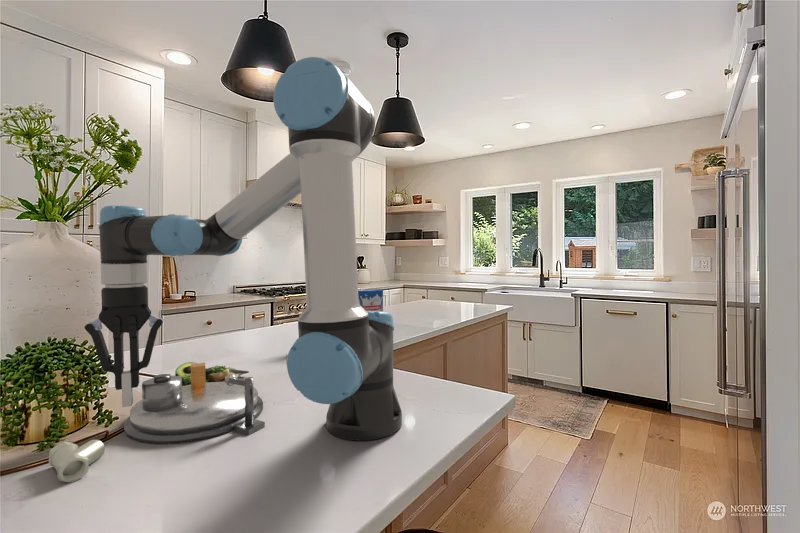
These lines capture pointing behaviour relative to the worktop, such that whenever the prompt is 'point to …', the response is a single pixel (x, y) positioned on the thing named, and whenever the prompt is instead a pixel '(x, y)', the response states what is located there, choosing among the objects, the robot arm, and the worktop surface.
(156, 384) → the cast cover
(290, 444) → the worktop surface
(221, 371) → the salad plate
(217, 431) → the turntable base
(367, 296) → the milk carton
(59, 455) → the pipe fitting
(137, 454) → the worktop surface
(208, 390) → the turntable
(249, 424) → the stand
